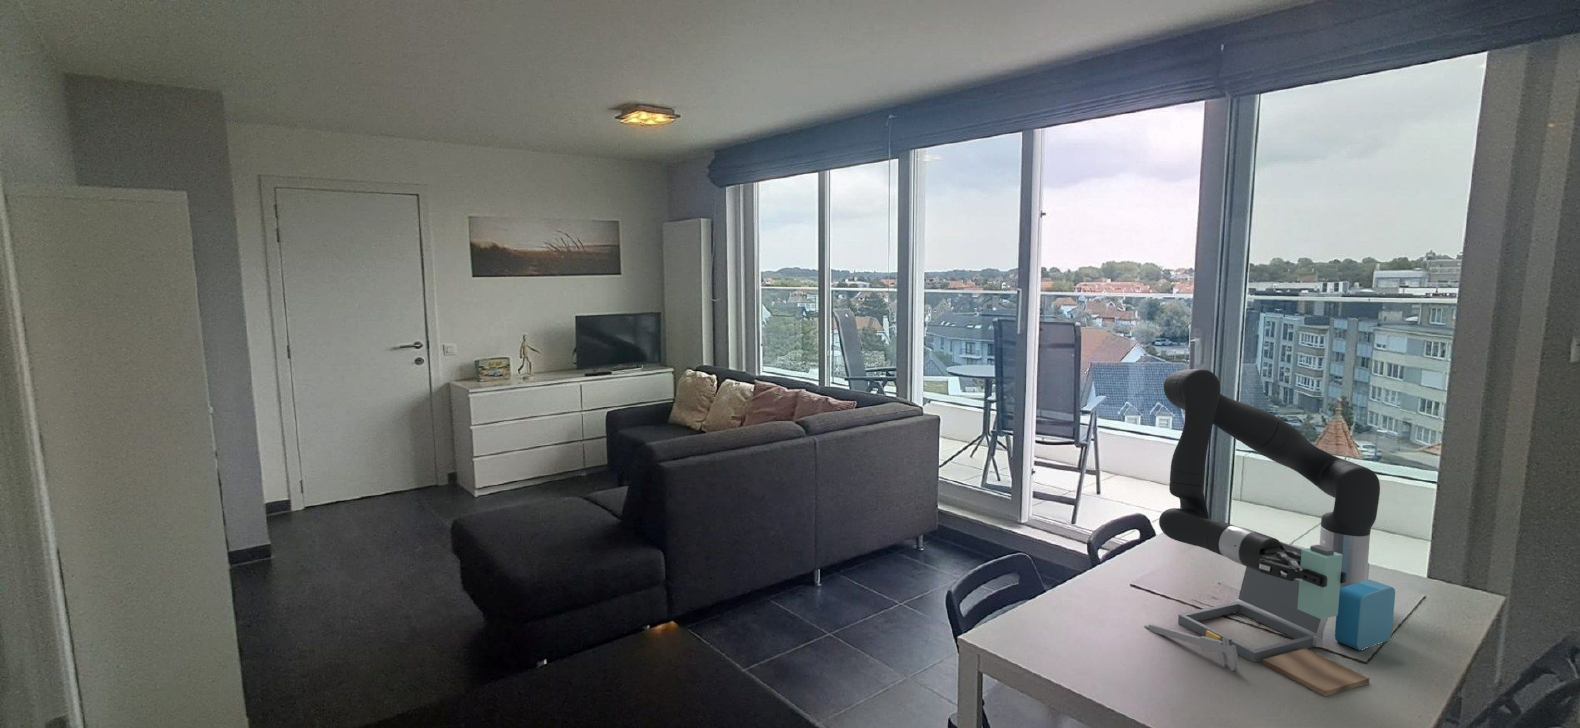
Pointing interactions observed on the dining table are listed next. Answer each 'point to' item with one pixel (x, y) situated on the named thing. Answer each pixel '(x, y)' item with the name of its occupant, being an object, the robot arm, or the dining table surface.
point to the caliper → (1203, 644)
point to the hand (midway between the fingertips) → (1335, 580)
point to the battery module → (1315, 597)
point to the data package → (1365, 614)
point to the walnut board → (1315, 672)
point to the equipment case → (1265, 614)
